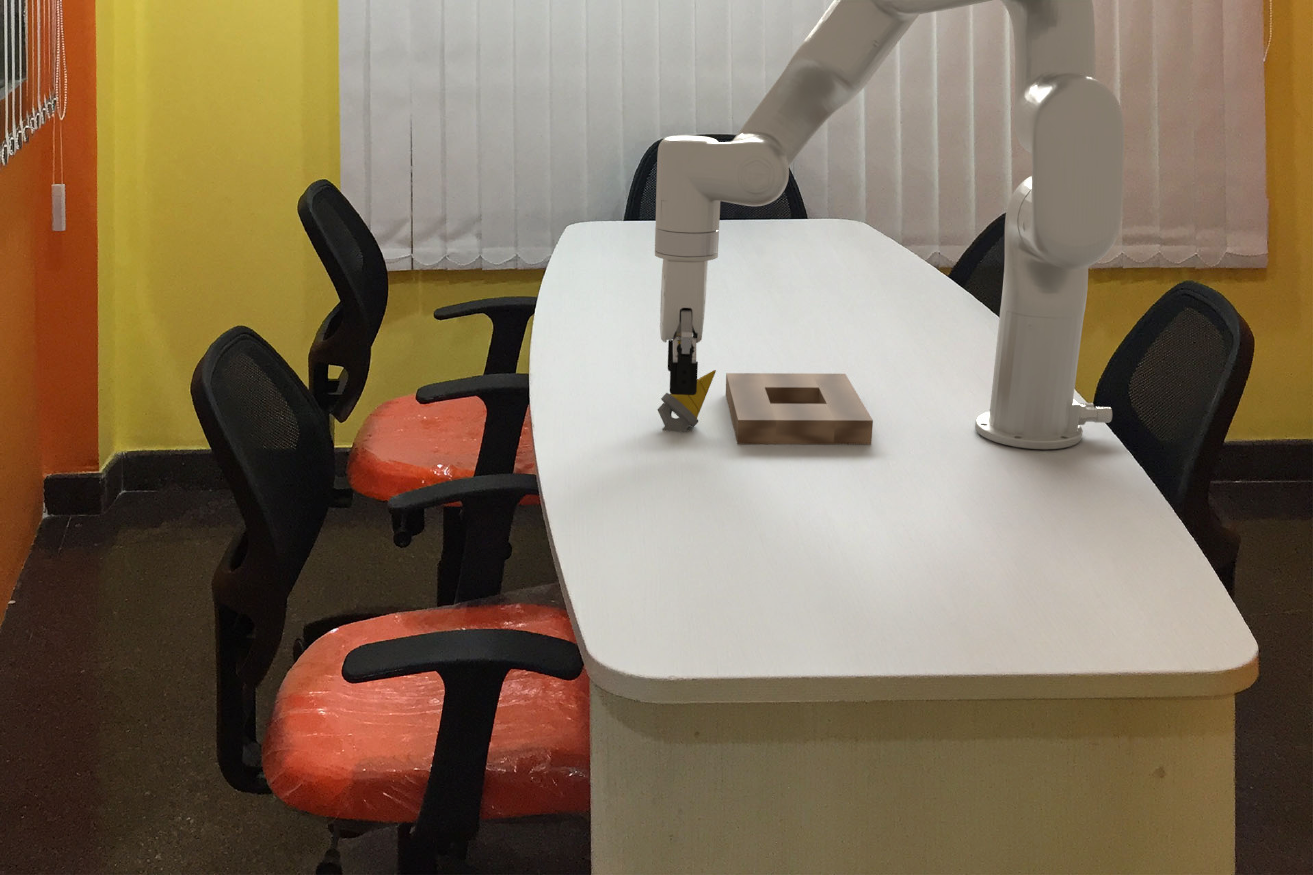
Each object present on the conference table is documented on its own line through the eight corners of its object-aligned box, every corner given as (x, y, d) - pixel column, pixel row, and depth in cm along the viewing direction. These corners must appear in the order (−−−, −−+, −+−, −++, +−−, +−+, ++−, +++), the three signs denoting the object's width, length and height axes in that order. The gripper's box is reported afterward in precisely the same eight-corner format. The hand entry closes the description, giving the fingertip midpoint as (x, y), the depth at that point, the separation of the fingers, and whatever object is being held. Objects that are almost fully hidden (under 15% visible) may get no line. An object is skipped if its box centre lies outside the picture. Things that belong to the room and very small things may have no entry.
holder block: (843, 395, 162) (845, 373, 161) (871, 444, 143) (873, 420, 142) (725, 394, 162) (726, 373, 161) (737, 443, 143) (738, 420, 142)
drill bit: (652, 424, 151) (704, 365, 152) (682, 449, 149) (735, 390, 150) (641, 410, 146) (695, 349, 147) (672, 435, 144) (727, 374, 145)
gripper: (653, 230, 150) (650, 362, 156) (656, 256, 134) (651, 403, 140) (713, 232, 150) (708, 364, 156) (723, 258, 134) (716, 404, 140)
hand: (681, 382), depth 148 cm, fingers open, 9 cm apart
